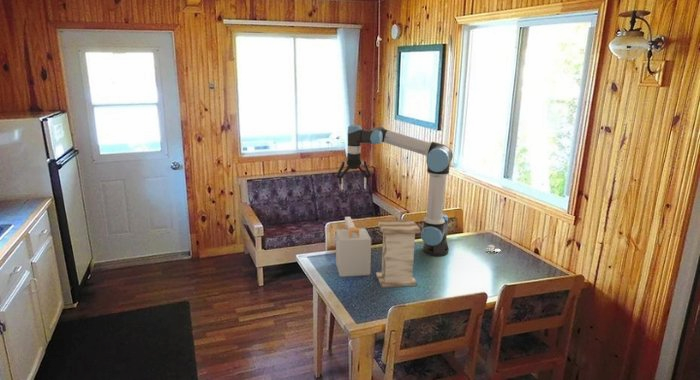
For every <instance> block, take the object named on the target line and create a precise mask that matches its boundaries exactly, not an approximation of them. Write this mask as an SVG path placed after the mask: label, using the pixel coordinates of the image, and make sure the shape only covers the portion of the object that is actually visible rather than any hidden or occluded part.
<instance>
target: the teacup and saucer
mask: <svg viewBox="0 0 700 380" xmlns="http://www.w3.org/2000/svg"><path fill="white" fill-rule="evenodd" d="M486 247H487V248H486V249H489V250H488V251H489V252H490V251H491V252H490V253H496V252H498V253H500V252H501V249H500V248H495V245H494V244H489V245H488V246H486ZM494 249H495V250H494ZM493 251H495V252H493Z"/></svg>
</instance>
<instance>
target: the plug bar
mask: <svg viewBox="0 0 700 380" xmlns="http://www.w3.org/2000/svg"><path fill="white" fill-rule="evenodd" d="M344 223H345V226H346V229H348V230H349V235H350V238H353V237H359V229H360V228H359V227H358V226H357V227H356V226H355V223H354V222H353V219H352V218H351V216H344Z"/></svg>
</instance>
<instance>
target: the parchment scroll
mask: <svg viewBox="0 0 700 380" xmlns="http://www.w3.org/2000/svg"><path fill="white" fill-rule="evenodd" d="M377 225H378V228H380V229H379V230H381V232H382V257H381V271H376V272H375V276H376V278H377V279H378V283H379V285H380V287H381V288H397V287H399V288H400V287H412V286H418V282H417V280H416V279H415V277H414V274H413V273H414V259H415V255H414V254H415V243H416V241H415V240H416V234H421V232H422V229H421V228H420V226H418V225H417V223H416V222H415V221H414V220H413V219H399V220H398V219H396V220H395V219H394V220H377Z"/></svg>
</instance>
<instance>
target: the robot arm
mask: <svg viewBox="0 0 700 380" xmlns="http://www.w3.org/2000/svg"><path fill="white" fill-rule="evenodd" d="M382 143H384V144H388V145H391V146H394V147H397V148H401V149H403V150H407V151H410V152H413V153H416V154H420V155H422V156H425V157H426V158H425V159H426V161H425V162H426V165H427V166H426V167H427V169H426V172H427V174H428V175H429V180H428V182H429V183H428V190H427V191H428V192H427V203H426V204H427V206H426V216H425V217H424V218H423V220H422V221H423V223H422V229H421V232H420V238H421V240H422V241H423V245H422V252H423V253H424V254H425V255H428V256H433V257H443V256H447V255H448V254H449V250H450V248H449V245H448V240H447V238H448V237H447V236H448V235H447V234H448V226H449V224H448V223H449V217H448V215H447V214H445V213H444V201H445V200H444V199H445V190H446V180H447V179H446V178H447V176H448V175H449V174H450V165H451V162H452V160H453V150H452V149H451V148H450V147H449V146H448V145H446V144H443V143H439V142H435V141H431V142H430V141H429V142H428V141H426V140H422V139H419V138H415V137H411V136H410V135H409V136H408V135H405V134H403V133H399V132H395V131H392V130H388V129H386V128H385V127H383V126H376V127H374V128H372V129H362V126H361V125H358V124H357V125H356V124H352V125H349V126H348V127H347V154H346V155H347V158H346V161H344V160H342V161H341V164H340V167H339V169H338V171H337V172H336V175H335V177H336V178H337V179H338V182H339V184H340V190H344V178H343V177H344V176H345V175H346V174H347V173H348V171H349V170H359V171H360V172H361V173H362V174H363V175H364V177H363V189H364V190H367V184H368V183H369V178H371V177H372V174H371V172H370V170H369V168H368V166H367V161H366V160H361V158H362V157H361V155H362V154H361V151H362V150H361V149H362V148H361V147H362V144H368V145H369V144H370V145H380V144H382ZM346 165H347V166H346ZM361 165H362V166H363V167H364V169H365V170H366V171H364V170H363V169H362V167H361ZM344 166H346V167H345V169H344ZM342 171H343V172H342ZM366 172H367V173H366Z"/></svg>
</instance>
